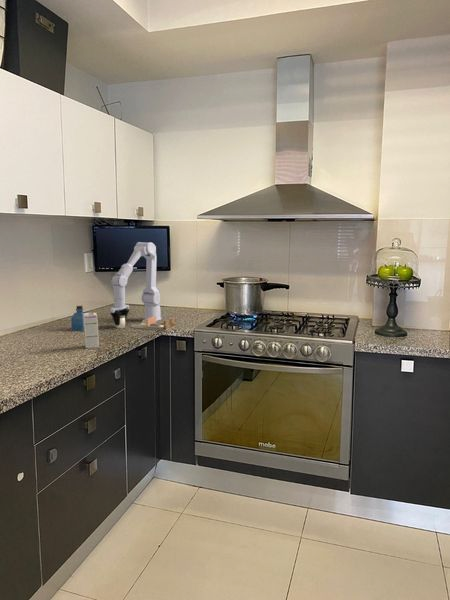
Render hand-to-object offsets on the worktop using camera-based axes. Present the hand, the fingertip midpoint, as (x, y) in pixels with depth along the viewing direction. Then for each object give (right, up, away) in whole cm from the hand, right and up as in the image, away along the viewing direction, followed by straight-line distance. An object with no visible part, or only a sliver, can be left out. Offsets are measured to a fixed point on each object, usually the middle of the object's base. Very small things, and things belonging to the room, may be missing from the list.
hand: (120, 324), depth 238 cm
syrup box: (-3, -8, -40) cm, 41 cm away
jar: (0, -2, 0) cm, 2 cm away
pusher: (+17, -2, +1) cm, 18 cm away
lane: (+17, -2, +1) cm, 18 cm away
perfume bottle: (-19, -3, -5) cm, 20 cm away
